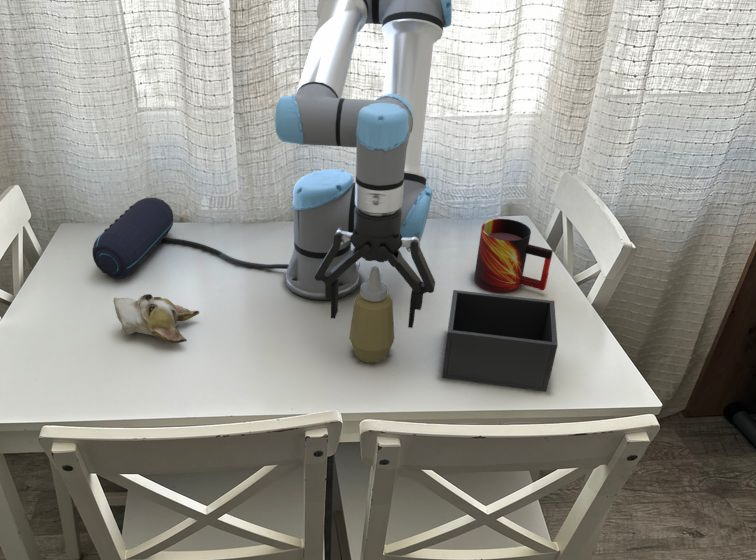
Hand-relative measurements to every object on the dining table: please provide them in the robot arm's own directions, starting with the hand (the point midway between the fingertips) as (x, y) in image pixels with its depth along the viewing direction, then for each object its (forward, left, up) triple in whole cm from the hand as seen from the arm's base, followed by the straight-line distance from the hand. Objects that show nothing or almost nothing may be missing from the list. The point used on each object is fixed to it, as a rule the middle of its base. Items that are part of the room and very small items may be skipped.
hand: (372, 319), depth 126 cm
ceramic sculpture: (-41, -2, -8) cm, 42 cm away
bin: (+22, +3, -8) cm, 24 cm away
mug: (+24, +31, -8) cm, 40 cm away
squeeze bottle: (0, 0, -8) cm, 8 cm away
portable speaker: (-57, +25, -8) cm, 63 cm away
